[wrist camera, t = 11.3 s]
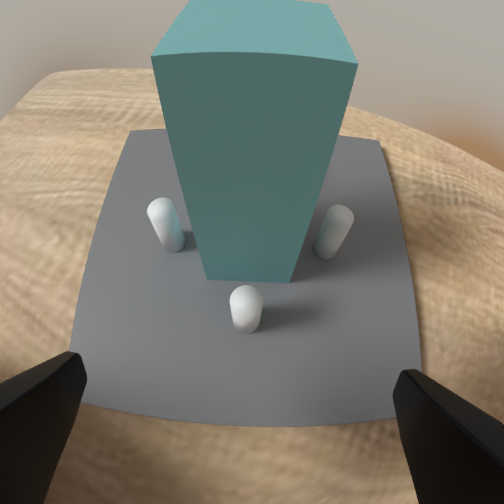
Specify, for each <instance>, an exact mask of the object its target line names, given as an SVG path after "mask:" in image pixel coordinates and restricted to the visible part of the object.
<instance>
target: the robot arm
mask: <svg viewBox="0 0 504 504" xmlns="http://www.w3.org/2000/svg"><path fill="white" fill-rule="evenodd" d="M86 384H87V373H86V370H85V367H84V363H83V360H82V357H81V355H80V354H79V353H76V352H71V351H66V352H64V353H62V354H60V355H58V356H56V357H54V358H51V359H49V360H47V361H45V362H43V363H41V364H39V365H37V366H35V367H33V368H31V369H29V370H27V371H25V372H23V373H20V374H18V375H16V376H14V377H12V378H10V379H8V380H6V381H4V382H2V383H0V504H43V503H44V500H45V497H46V494H47V492H48V489H49V486H50V483H51V480H52V478H53V475H54V472H55V470H56V467H57V464H58V462H59V459H60V457H61V454H62V452H63V449H64V447H65V444H66V442H67V439H68V437H69V434H70V432H71V430H72V427H73V425H74V422H75V419H76V416H77V412H78V409H79V406H80V403H81V399H82V396H83V393H84V390H85V387H86ZM392 397H393V403H394V408H395V412H396V417H397V422H398V428H399V433H400V438H401V442H402V446H403V449H404V452H405V456H406V459H407V462H408V466H409V469H410V473H411V476H412V480H413V484H414V487H415V491H416V495H417V499H418V502H419V504H504V425H503V423H502V422H500V421H498V420H497V419H495V418H493V417H492V416H490V415H489V414H487V413H485V412H484V411H482V410H481V409H479V408H477V407H476V406H474V405H473V404H471V403H469V402H468V401H466V400H465V399H463V398H461V397H460V396H458V395H457V394H455V393H453V392H452V391H450V390H449V389H447V388H445V387H444V386H442V385H441V384H439V383H437V382H436V381H434V380H433V379H431V378H429V377H428V376H426V375H425V374H423V373H422V372H420V371H418V370H417V369H404V370H402V371H401V372H400V374H399V377H398V380H397V382H396V385H395V387H394V390H393V395H392Z"/></svg>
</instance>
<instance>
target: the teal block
mask: <svg viewBox="0 0 504 504" xmlns="http://www.w3.org/2000/svg"><path fill="white" fill-rule="evenodd" d="M151 60H152V65H153V70H154V75H155V79H156V84H157V89H158V93H159V98H160V102H161V107H162V111H163V116H164V120H165V124H166V129H167V133H168V137H169V141H170V145H171V150H172V154H173V158H174V162H175V166H176V170H177V174H178V177H179V181H180V185H181V189H182V193H183V197H184V200H185V204H186V208H187V211H188V215H189V219H190V222H191V226H192V230H193V233H194V237H195V240H196V244H197V247H198V251H199V254H200V258H201V261H202V264H203V268H204V271H205V275H206V278H207V280H225V281H246V282H268V283H289V282H290V279H291V276H292V273H293V271H294V268H295V265H296V262H297V259H298V257H299V254H300V251H301V248H302V245H303V242H304V239H305V236H306V233H307V230H308V228H309V225H310V222H311V219H312V216H313V213H314V210H315V207H316V204H317V201H318V198H319V194H320V191H321V188H322V185H323V182H324V179H325V176H326V173H327V169H328V166H329V163H330V160H331V157H332V153H333V150H334V147H335V144H336V140H337V137H338V134H339V130H340V127H341V124H342V120H343V117H344V114H345V110H346V107H347V103H348V100H349V96H350V92H351V89H352V85H353V82H354V78H355V75H356V71H357V67H358V62H357V60H356V58H355V56H354V53H353V51H352V49H351V47H350V45H349V43H348V42H347V39H346V37H345V35H344V33H343V32H342V30H341V28H340V26H339V24H338V22H337V20H336V18H335V17H334V15H333V13H332V11H331V10H330V8H329V6H328V5H326V4H319V3H311V2H304V1H294V0H190V1H189V2H188V3H187V5H186V6H185V7H184V9H183V10H182V11H181V13H180V14H179V15H178V17H177V18H176V20H175V21H174V22H173V24H172V25H171V26H170V28H169V29H168V31H167V32H166V34H165V35H164V37H163V38H162V40H161V41H160V43H159V44H158V46H157V47H156V49H155V50H154V52H153V53H152V55H151Z"/></svg>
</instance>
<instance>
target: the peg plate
mask: <svg viewBox="0 0 504 504" xmlns="http://www.w3.org/2000/svg"><path fill="white" fill-rule="evenodd" d="M69 351H71V352H76V353H79V354H80V355H81V357H82V360H83V363H84V367H85V370H86V373H87V384H86V387H85V390H84V393H83V396H82V399H81V402H82V403H86V404H90V405H94V406H98V407H102V408H107V409H111V410H116V411H121V412H126V413H132V414H137V415H143V416H149V417H155V418H162V419H169V420H177V421H185V422H194V423H205V424H217V425H232V426H257V427H296V426H321V425H337V424H349V423H359V422H368V421H376V420H384V419H391V418H397V417H396V412H395V408H394V403H393V397H392V395H393V390H394V387H395V385H396V382H397V380H398V377H399V374H400V372H401V371H402V370H404V369H417V370H418V371H420V372H422V370H421V353H420V341H419V330H418V320H417V312H416V304H415V296H414V289H413V282H412V276H411V270H410V264H409V258H408V253H407V248H406V243H405V238H404V233H403V228H402V224H401V219H400V215H399V211H398V206H397V202H396V198H395V194H394V191H393V187H392V183H391V179H390V176H389V172H388V169H387V165H386V162H385V158H384V155H383V152H382V149H381V146H380V142H379V141H377V140H370V139H363V138H356V137H348V136H340V135H338V137H337V140H336V144H335V147H334V150H333V153H332V157H331V160H330V163H329V166H328V169H327V173H326V176H325V179H324V182H323V185H322V188H321V191H320V194H319V198H318V201H317V204H316V207H315V210H314V213H313V216H312V219H311V222H310V225H309V228H308V230H307V233H306V236H305V239H304V242H303V245H302V248H301V251H300V254H299V257H298V259H297V262H296V265H295V268H294V271H293V273H292V276H291V279H290V282H289V283H268V282H246V281H225V280H207V278H206V275H205V271H204V268H203V264H202V261H201V258H200V254H199V251H198V247H197V244H196V240H195V237H194V233H193V230H192V226H191V222H190V219H189V215H188V211H187V208H186V204H185V200H184V197H183V193H182V189H181V185H180V181H179V177H178V174H177V170H176V166H175V162H174V158H173V154H172V150H171V145H170V141H169V137H168V133H167V129H151V130H135V131H130V133H129V136H128V138H127V140H126V143H125V145H124V148H123V150H122V153H121V155H120V158H119V161H118V163H117V166H116V169H115V171H114V174H113V177H112V180H111V183H110V185H109V188H108V191H107V194H106V197H105V200H104V203H103V206H102V210H101V213H100V216H99V219H98V223H97V226H96V229H95V233H94V236H93V240H92V243H91V247H90V251H89V255H88V259H87V263H86V267H85V271H84V275H83V279H82V284H81V288H80V293H79V298H78V303H77V308H76V313H75V319H74V324H73V330H72V337H71V343H70V350H69Z"/></svg>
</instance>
